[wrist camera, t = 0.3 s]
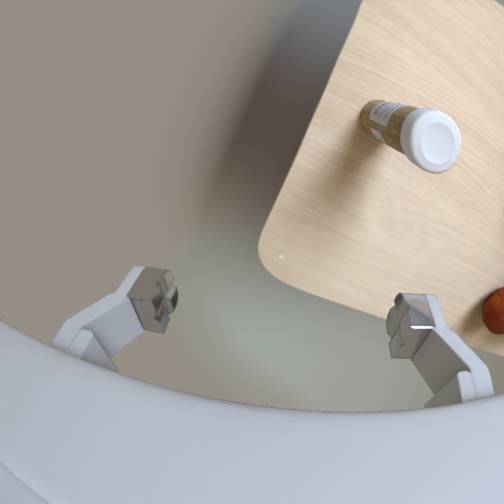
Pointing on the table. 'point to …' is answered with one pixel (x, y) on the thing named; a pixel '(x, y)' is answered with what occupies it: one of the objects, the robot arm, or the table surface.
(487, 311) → the fruit
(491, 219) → the table surface
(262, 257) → the table surface
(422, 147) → the sprinkles bottle
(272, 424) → the robot arm
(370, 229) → the table surface
